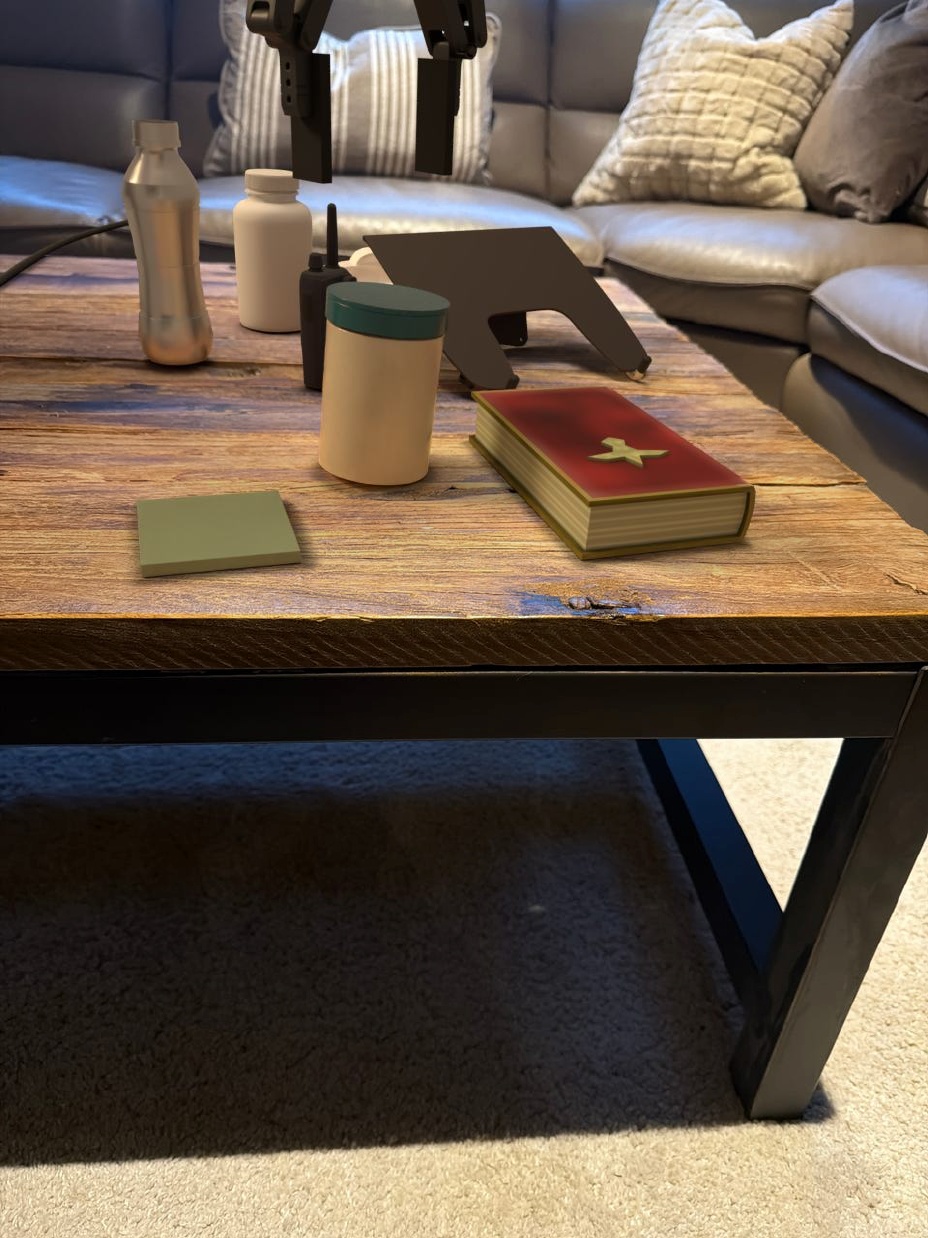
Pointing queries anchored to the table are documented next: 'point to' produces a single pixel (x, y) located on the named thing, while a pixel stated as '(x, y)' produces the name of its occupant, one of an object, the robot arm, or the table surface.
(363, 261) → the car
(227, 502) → the coaster
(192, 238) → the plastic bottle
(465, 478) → the table surface
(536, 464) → the hardcover book
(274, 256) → the pill bottle
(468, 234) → the laptop tray
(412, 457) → the jar
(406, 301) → the jar lid
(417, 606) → the table surface
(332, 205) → the two-way radio
